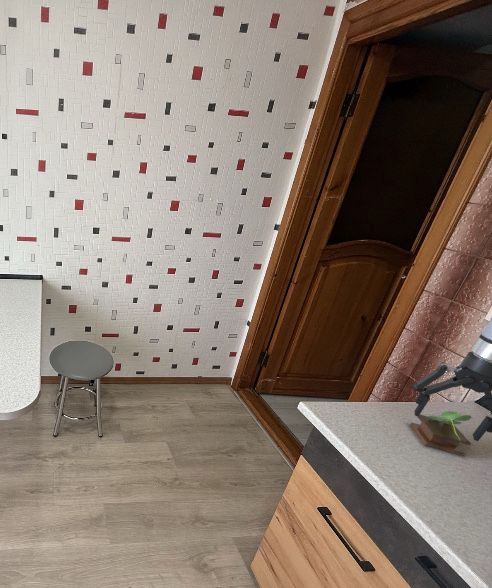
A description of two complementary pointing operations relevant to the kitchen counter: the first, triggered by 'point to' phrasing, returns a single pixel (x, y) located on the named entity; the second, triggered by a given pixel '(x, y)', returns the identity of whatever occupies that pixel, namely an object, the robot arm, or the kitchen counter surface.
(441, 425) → the plant stand
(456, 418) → the seedling
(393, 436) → the kitchen counter surface
